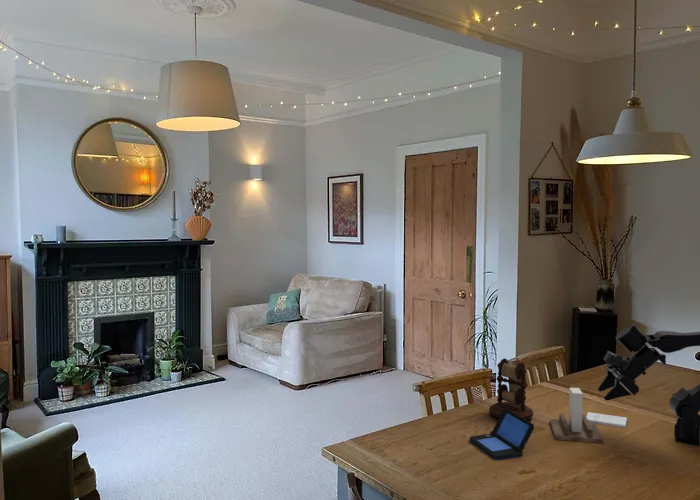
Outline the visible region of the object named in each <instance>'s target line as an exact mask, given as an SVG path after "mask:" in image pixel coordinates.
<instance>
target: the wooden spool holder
mask: <svg viewBox="0 0 700 500" xmlns="http://www.w3.org/2000/svg"><path fill="white" fill-rule="evenodd" d="M496 365H497V370H498V372H497V376H496V381H497V383H498V384H497V388H498V389H496V392H497V400H496V401H497V402H495V403H494V404H491V405H490V406H489V407H488V409H489V410H488V412H489V415H490V417H496V418H498V419H499V417H500V415H501V413H502V411H503V410H504V409H508V410H509V411H511V412H513V413H515V414H516V415H518V416H520V417H522V418H523V419H525V420H530V419H531V418H533V416H534V410H533V409H532V408H531V407H529V406H527V405H526V404H525V403H526V401H527V397H526V389H527V387H528V383H527V382H526V376H527V374H526V373H527V372H528V371H527V369H526V366H525V364H524V362H521V361H520V362H518V363H517V365H515V364H510V363H509V360H508V359H507V358H502V359H501V360H500V362H499V363H497V364H496ZM503 383H504V384H503ZM505 383H507V384H508V386H507V384H505Z"/></svg>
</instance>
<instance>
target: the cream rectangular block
mask: <svg viewBox="0 0 700 500" xmlns="http://www.w3.org/2000/svg"><path fill="white" fill-rule="evenodd" d="M583 395H584V394H583V392H582V390H581V389H580V388H579V387H569V399H568V402H569V403H568V420H569V426H570V429H571V431H572V432H582V415H583Z"/></svg>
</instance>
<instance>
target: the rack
mask: <svg viewBox="0 0 700 500" xmlns="http://www.w3.org/2000/svg"><path fill="white" fill-rule="evenodd" d="M586 416H587V415H585V414H582V432H572V431H571V429H570V426H569V419H567V418H566V416H565V414H564V413H559V414H558V418H557V419H556V418H555V419H554V418H549V424H550V427H551V429H552V434H553V436H554V439H555V440H560V441H561V440H562V441H571V442H572V441H573V442H584V443H595V444H596V443H597V444H604V438H603V436H602V434H601V432H600V431H599V429H598V427H597V425H596V423H594V422H589V421H588V419H587V418H586Z"/></svg>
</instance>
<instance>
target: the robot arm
mask: <svg viewBox="0 0 700 500" xmlns="http://www.w3.org/2000/svg"><path fill="white" fill-rule="evenodd" d="M615 340H616V341H618V342H619V343H620V344H621V345H622V347H624V349H626V350H627V352H628V353H629V352H630V353H632V352H634V354H633V355H631V356H629V355H627V356H625V357H623V356H622V355H619V354H618V353H614V352H612V351H609V350H607V352H606V353H605V355H604V356H603V361H604V362H605V363H606V364H607V365H605V366H606V368H605V371H606V372H605V373H606V374H605V376H604V378H603V380H602V382H601V383H600V384H599V386H598V387H597V391H598V392H604V391H607V390H608V389H609V391H608V392H607V393H606V394H605V396H603V399H604V400H605V401H610V400H615V399H618V398H622V397H628V396H636V395H637V394H639V392H640V387H639V386H638V385H637V381H636V380H637V379H638V378H639V377H641V375H643V376H645V375H646V374H647V372H646V371H647V370H649V369H650V368H651V367H652V366H654V365H655V364H656V363H657V362H658V361H659V362H660V363H662V365H666V364H667V361H666V360H667V356H666V354H671V353H675V352H679V351H682V350H684V349H686V348H690V347H700V331H693V332H678V331H669V330H666V331H665V330H659V331H656V332H654V334H652V333H651V334H643V333H641V332H640V331H639V329H638V328H637V327H636V326H635V325H634V324H631V325H630V326H627V327H626V328H624V329H621V330H620V331H619V332H618V333H617V334H616V335H615ZM646 343H647V344H648V345H649V346H651V347H649V346H648V345H647V344H646ZM657 349H658V350H659V351H658V350H657ZM660 352H662V353H660ZM664 353H665V354H664ZM668 402H669V403H668V404H669V407H670V409H671V410H672V412H674V413H675V416H676V417H677V420H676V422H675V424H674V438H675V439H674V442H678V443H684V444H688V445H692V446H697V447H700V414H699V412H700V383H699V384H697V386H695V387H693V388H691V389H688V390H687V389H685V388H684V387H681V388H680V389H679V390H677V391H676V392H675V393H673V394H671V398H669V401H668Z"/></svg>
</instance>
